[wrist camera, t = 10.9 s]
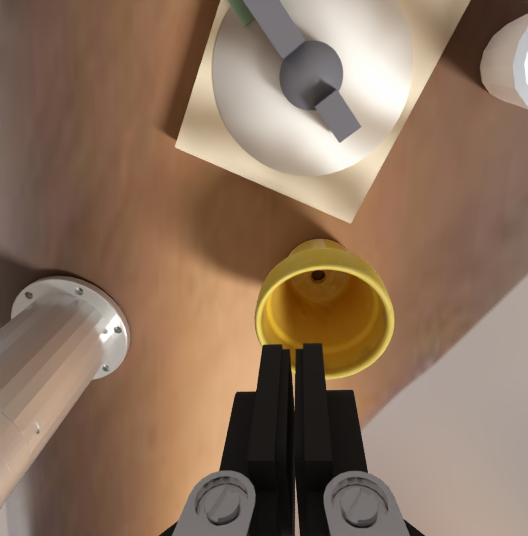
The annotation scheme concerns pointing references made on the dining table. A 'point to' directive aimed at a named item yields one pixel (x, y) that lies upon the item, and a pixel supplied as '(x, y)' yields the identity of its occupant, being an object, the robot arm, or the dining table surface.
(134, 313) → the dining table surface
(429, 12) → the tuner board
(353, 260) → the plant pot
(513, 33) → the white cup
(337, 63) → the grey dial pointer
